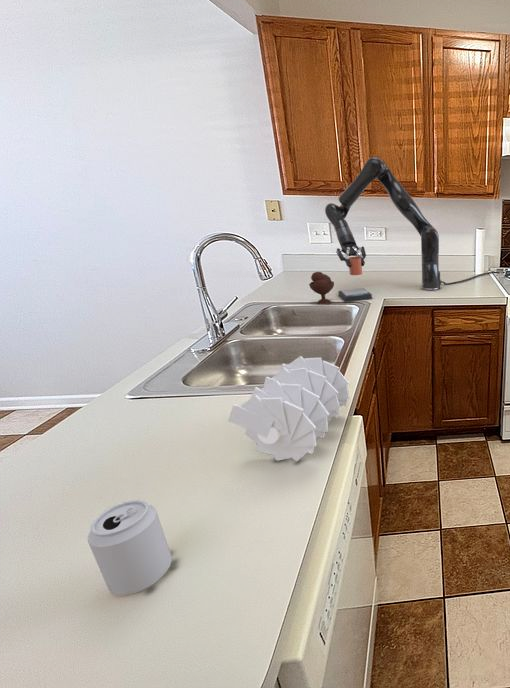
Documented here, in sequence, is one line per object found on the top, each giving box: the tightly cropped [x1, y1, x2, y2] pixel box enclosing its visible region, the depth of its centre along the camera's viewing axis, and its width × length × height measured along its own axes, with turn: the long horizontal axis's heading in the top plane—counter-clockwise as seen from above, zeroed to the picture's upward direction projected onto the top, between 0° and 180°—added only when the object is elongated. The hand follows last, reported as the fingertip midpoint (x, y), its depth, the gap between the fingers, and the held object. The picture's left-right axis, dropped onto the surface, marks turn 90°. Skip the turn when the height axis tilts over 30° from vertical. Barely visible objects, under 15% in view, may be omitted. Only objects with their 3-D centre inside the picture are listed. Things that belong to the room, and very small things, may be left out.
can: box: [87, 499, 173, 597], centre depth 58 cm, size 8×8×12 cm
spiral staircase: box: [227, 355, 350, 462], centre depth 90 cm, size 18×18×25 cm
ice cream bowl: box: [308, 271, 335, 305], centre depth 188 cm, size 11×11×15 cm
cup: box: [348, 256, 363, 276], centre depth 195 cm, size 6×6×8 cm
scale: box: [337, 287, 373, 303], centre depth 199 cm, size 13×13×3 cm
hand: (356, 265), depth 194 cm, fingers closed on cup, 6 cm apart
